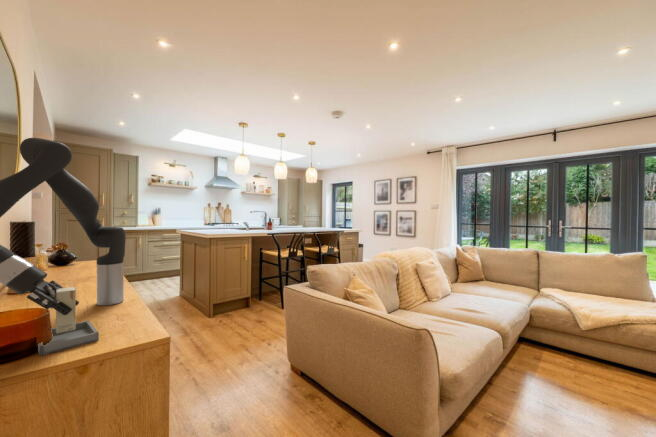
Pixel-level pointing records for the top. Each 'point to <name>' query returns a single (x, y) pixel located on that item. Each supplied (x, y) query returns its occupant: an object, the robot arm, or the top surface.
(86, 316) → the top surface
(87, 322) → the tray
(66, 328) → the skincare box
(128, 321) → the top surface
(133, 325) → the top surface
